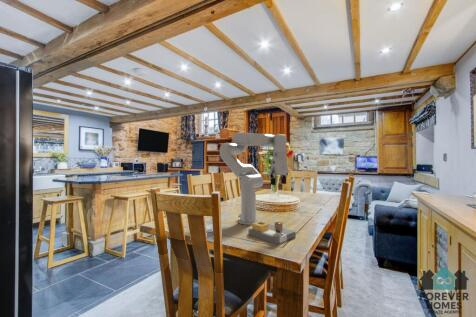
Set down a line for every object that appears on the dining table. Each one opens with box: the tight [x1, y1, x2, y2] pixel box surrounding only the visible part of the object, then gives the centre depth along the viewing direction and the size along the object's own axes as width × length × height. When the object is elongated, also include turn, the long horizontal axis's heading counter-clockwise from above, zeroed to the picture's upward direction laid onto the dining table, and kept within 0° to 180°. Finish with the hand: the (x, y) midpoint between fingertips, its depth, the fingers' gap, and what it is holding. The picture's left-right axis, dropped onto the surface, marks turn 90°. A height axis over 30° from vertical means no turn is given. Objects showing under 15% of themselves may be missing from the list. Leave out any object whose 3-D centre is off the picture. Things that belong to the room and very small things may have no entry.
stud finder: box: [251, 221, 270, 232], centre depth 127 cm, size 7×6×3 cm
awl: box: [274, 221, 284, 237], centre depth 118 cm, size 4×4×9 cm
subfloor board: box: [247, 223, 297, 245], centre depth 126 cm, size 20×16×3 cm
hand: (278, 184), depth 135 cm, fingers open, 9 cm apart
